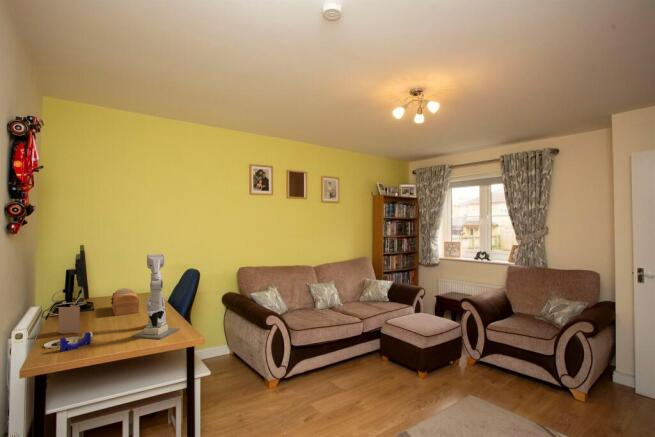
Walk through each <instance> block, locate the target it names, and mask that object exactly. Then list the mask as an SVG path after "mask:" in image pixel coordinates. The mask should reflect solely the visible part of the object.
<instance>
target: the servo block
mask: <svg viewBox="0 0 655 437" xmlns="http://www.w3.org/2000/svg"><path fill="white" fill-rule="evenodd" d="M164 322H165V321H161V319H159V318H158V321H157V326H152V323H151V321H149V320H148V321H146V324H148V325H149V324H150V328H160V327H162V323H164Z"/></svg>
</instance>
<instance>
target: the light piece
mask: <svg viewBox="0 0 655 437" xmlns="http://www.w3.org/2000/svg"><path fill="white" fill-rule="evenodd" d="M89 332H90V333H91V341H93V339H94V336H93V332H92V331H89ZM85 333H86V332H82V333H81V332H80V333H77V336H70V337H64V338H65V339H66V342H67V343H68V344H76V343H78V342H80V341H81V340H82V339H83V338H84V336H85ZM43 347H45V348H44V349H48V348H51V349H58V348H57V347H59V348H60V338H59V339H53V340H51V341H48V342H46V343H44V345H43Z"/></svg>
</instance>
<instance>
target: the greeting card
mask: <svg viewBox="0 0 655 437" xmlns="http://www.w3.org/2000/svg"><path fill="white" fill-rule="evenodd" d="M80 312H81V306H77V305H74V304H70V306H68V307H67V306H61V307H60V306H59V307H58V333H62V334H80V320H81V318H80Z"/></svg>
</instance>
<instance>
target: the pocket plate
mask: <svg viewBox="0 0 655 437" xmlns="http://www.w3.org/2000/svg"><path fill="white" fill-rule="evenodd" d="M178 331H180V328H179V327H178V328H177V327H169V325H168V324H164V325H162V327H160V328H150V326H148V327H144V328H143V330H142V331H139V332H136V333H134V334H132V335H131V338H135V339H137V338H138V339H150V340H151V339H152V340H162V339H164V338H167V337H169V336H170V335H173V334H174V333H176V332H178Z"/></svg>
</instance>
